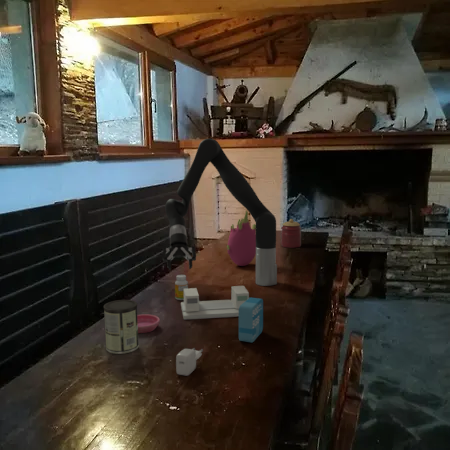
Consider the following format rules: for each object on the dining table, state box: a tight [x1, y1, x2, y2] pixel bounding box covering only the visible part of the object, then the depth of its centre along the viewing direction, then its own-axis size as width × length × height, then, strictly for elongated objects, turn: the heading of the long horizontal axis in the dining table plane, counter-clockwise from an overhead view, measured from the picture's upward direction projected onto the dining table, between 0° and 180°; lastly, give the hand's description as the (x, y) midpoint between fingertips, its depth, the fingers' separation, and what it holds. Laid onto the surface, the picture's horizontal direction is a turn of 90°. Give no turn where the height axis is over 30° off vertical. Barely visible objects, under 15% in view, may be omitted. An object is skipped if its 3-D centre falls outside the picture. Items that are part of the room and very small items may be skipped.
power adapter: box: [175, 347, 204, 377], centre depth 138 cm, size 11×5×6 cm, turn 159°
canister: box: [280, 218, 302, 249], centre depth 310 cm, size 13×13×18 cm
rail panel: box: [180, 285, 250, 321], centre depth 187 cm, size 26×16×8 cm, turn 99°
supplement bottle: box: [174, 274, 189, 301], centre depth 202 cm, size 5×5×10 cm
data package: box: [238, 296, 264, 344], centre depth 160 cm, size 12×4×12 cm, turn 158°
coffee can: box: [103, 299, 140, 355], centre depth 152 cm, size 10×10×14 cm
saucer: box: [137, 313, 161, 334], centre depth 169 cm, size 12×12×3 cm
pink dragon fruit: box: [226, 210, 256, 267], centre depth 257 cm, size 18×14×30 cm
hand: (180, 268), depth 206 cm, fingers open, 8 cm apart
